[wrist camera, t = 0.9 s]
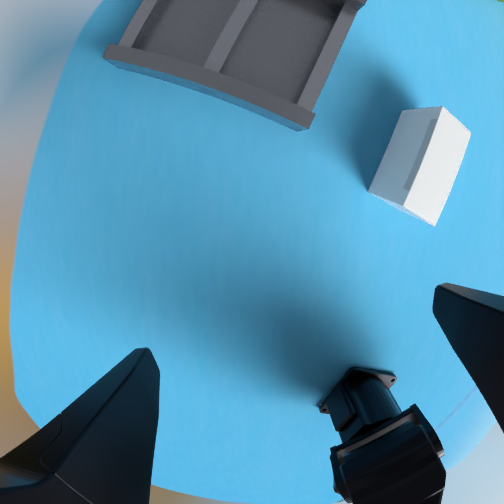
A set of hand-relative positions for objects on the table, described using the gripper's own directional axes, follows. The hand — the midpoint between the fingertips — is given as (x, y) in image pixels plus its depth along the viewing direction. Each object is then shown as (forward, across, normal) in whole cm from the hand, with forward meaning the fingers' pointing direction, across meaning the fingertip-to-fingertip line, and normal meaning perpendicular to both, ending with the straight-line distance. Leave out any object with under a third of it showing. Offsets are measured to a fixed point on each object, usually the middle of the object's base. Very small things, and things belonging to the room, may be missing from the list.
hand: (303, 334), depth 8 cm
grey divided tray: (+13, -1, -14) cm, 19 cm away
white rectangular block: (+13, -11, -3) cm, 17 cm away
